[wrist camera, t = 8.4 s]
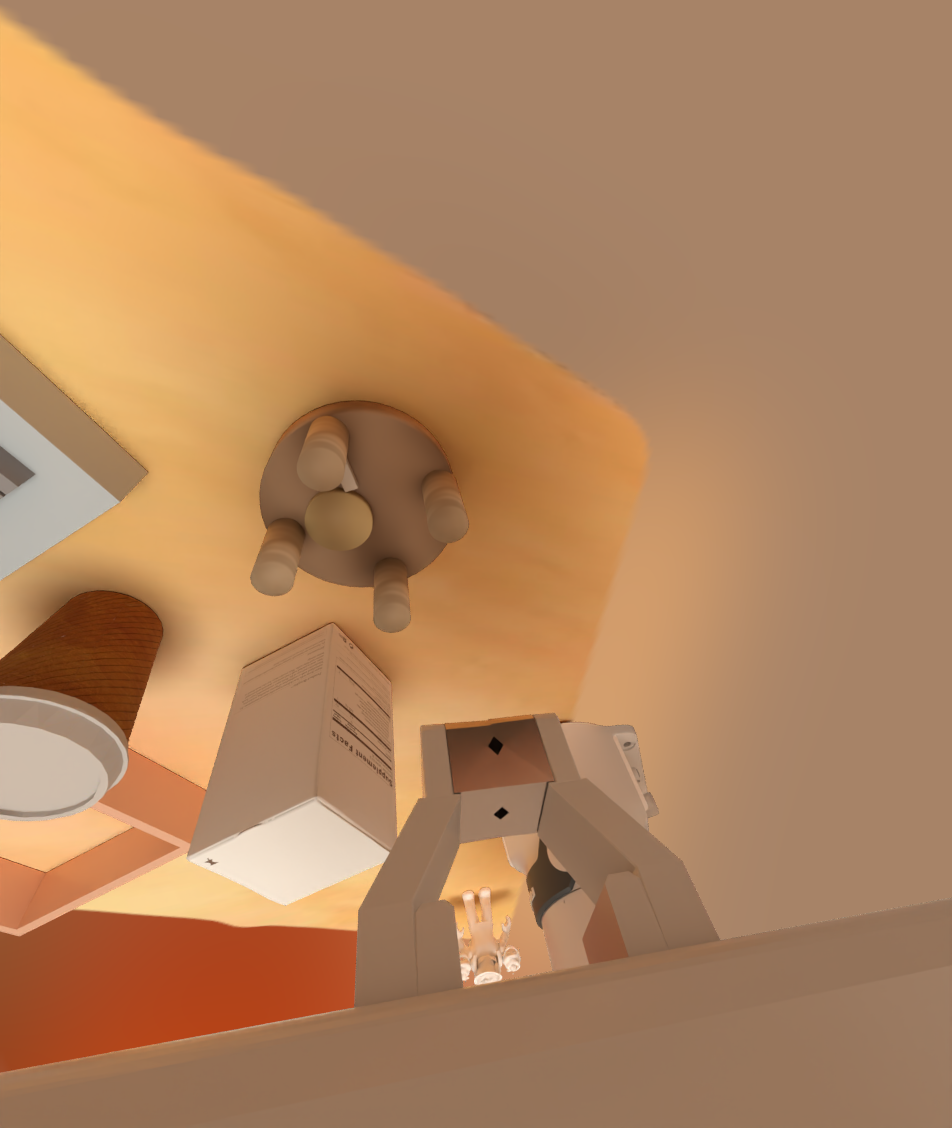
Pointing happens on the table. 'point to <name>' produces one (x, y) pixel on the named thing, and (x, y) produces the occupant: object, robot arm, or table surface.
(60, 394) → the stand
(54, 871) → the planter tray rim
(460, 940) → the flower shoulder figurine
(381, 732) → the supplement box
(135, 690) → the disposable coffee cup
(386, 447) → the dial
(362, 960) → the robot arm
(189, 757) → the table surface
